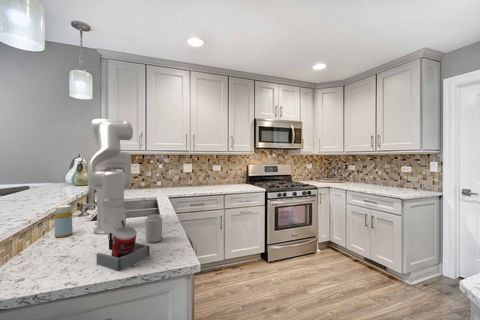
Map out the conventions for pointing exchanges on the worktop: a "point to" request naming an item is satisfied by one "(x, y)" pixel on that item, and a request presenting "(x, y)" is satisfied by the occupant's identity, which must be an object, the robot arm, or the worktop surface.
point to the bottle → (63, 221)
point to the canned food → (123, 241)
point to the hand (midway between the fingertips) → (114, 248)
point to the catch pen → (124, 257)
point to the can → (153, 228)
